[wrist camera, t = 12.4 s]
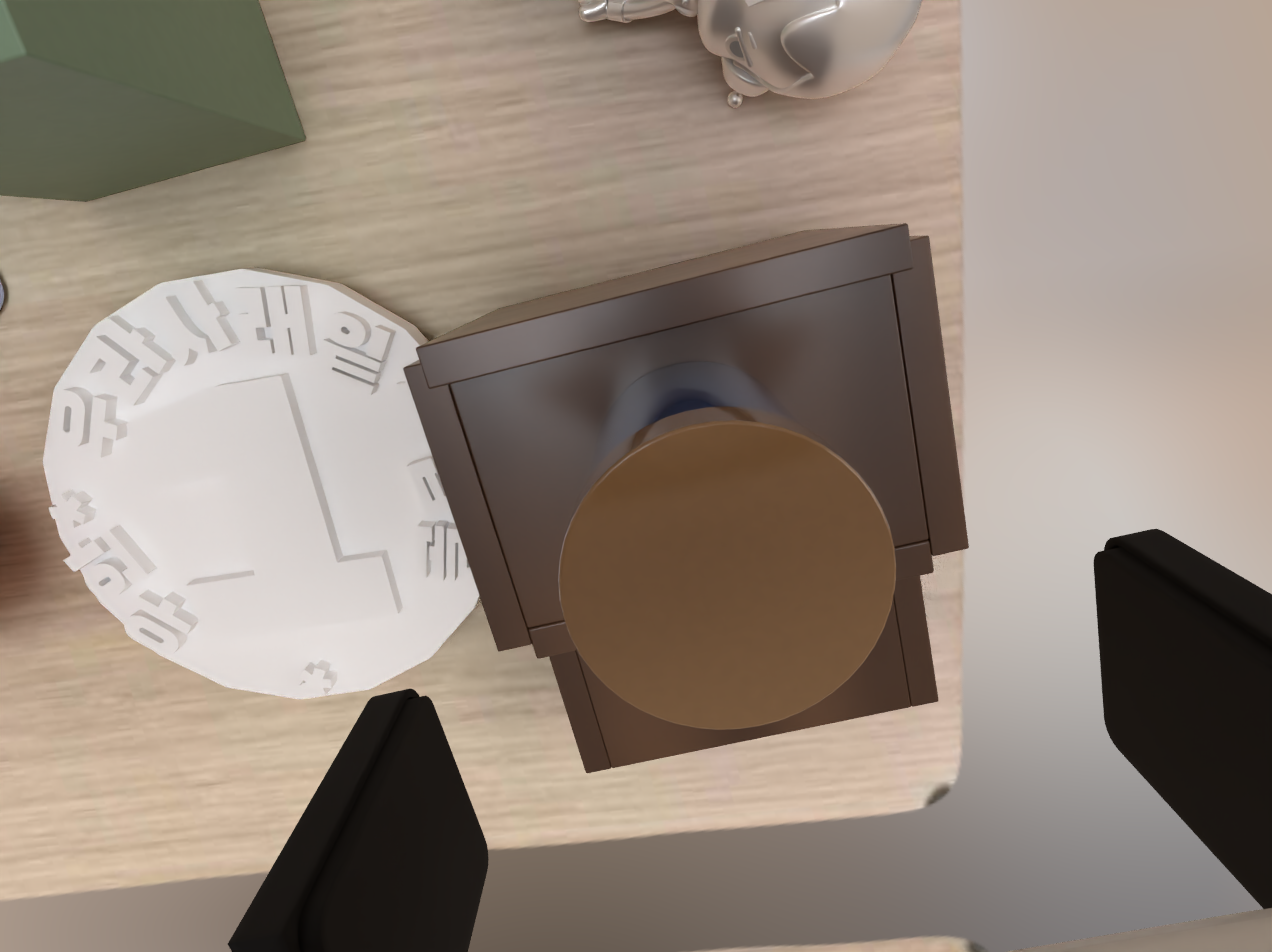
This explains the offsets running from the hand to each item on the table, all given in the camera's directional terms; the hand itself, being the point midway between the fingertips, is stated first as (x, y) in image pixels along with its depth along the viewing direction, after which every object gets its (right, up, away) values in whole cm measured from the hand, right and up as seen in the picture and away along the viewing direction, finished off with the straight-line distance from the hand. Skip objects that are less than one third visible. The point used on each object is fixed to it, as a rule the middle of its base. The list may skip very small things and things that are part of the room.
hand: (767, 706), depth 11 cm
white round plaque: (-18, +3, +25) cm, 31 cm away
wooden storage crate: (+1, +2, +25) cm, 25 cm away
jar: (0, +4, +13) cm, 14 cm away
